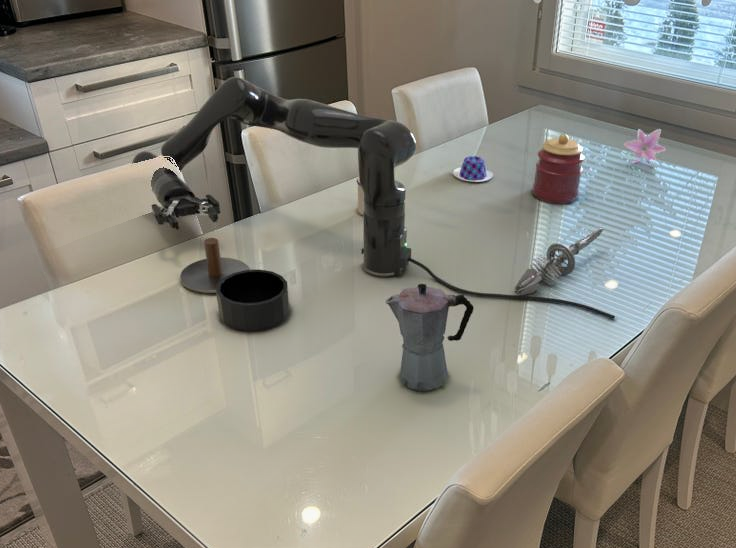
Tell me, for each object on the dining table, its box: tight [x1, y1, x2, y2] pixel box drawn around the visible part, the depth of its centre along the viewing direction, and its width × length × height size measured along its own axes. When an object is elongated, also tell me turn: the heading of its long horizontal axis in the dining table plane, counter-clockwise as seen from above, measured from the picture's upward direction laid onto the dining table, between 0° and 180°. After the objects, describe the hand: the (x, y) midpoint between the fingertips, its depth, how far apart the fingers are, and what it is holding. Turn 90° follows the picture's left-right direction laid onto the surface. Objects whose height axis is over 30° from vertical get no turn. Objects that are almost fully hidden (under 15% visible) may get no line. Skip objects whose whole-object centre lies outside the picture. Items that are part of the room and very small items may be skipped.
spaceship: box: [512, 227, 604, 296], centre depth 170 cm, size 8×35×8 cm
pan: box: [215, 269, 290, 333], centre depth 150 cm, size 14×14×6 cm
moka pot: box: [384, 283, 474, 392], centre depth 131 cm, size 10×15×20 cm, turn 95°
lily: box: [623, 128, 667, 168], centre depth 234 cm, size 12×12×10 cm
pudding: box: [452, 155, 494, 183], centre depth 216 cm, size 12×12×5 cm
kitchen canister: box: [532, 133, 585, 205], centre depth 204 cm, size 13×13×18 cm
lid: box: [179, 237, 251, 294], centre depth 160 cm, size 15×15×9 cm
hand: (196, 221), depth 162 cm, fingers open, 8 cm apart
